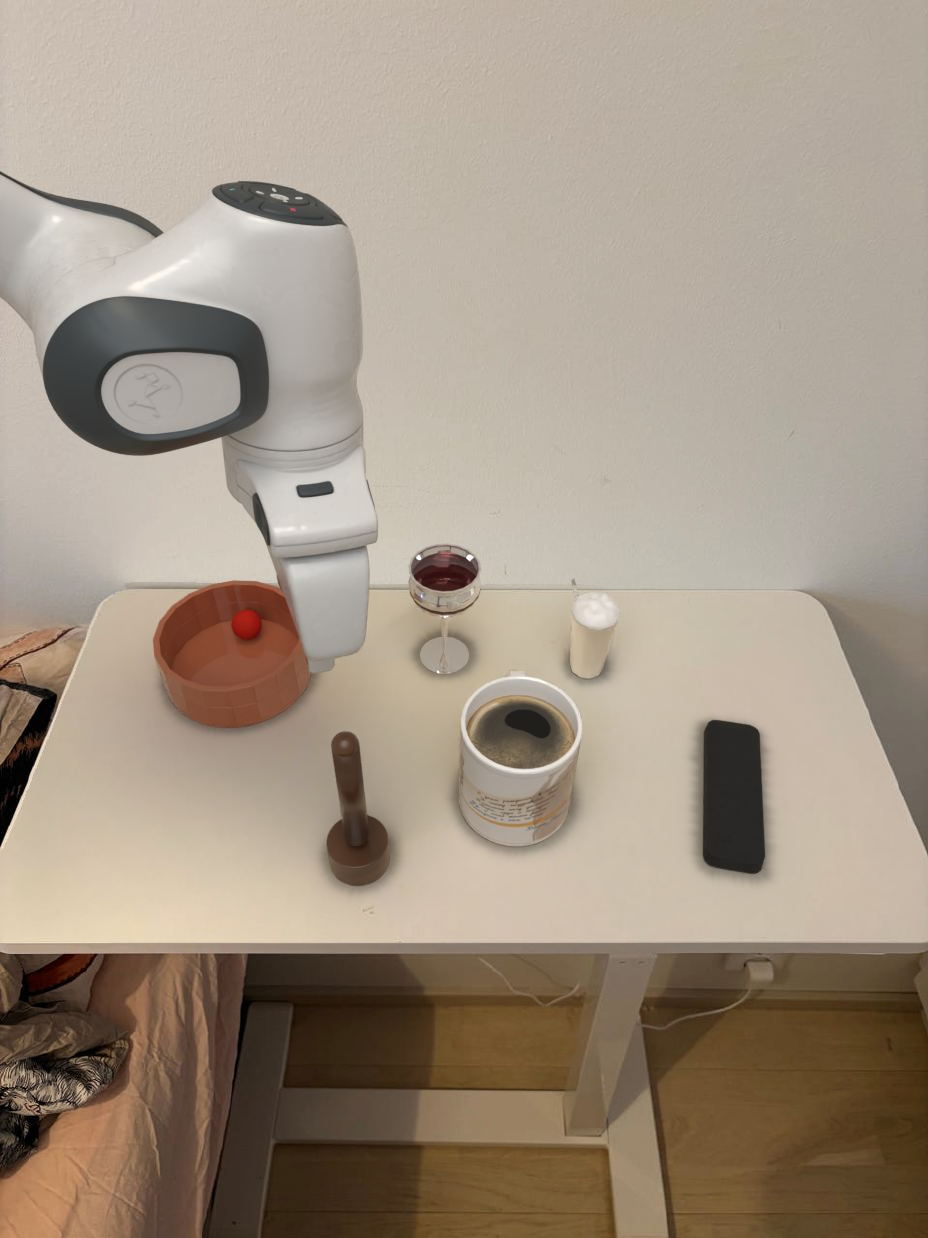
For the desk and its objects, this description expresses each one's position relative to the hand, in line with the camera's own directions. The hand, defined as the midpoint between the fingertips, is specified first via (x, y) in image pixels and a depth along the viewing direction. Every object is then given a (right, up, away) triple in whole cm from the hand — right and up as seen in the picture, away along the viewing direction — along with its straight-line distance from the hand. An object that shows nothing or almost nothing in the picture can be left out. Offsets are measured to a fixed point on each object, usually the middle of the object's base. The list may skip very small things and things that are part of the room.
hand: (304, 624), depth 68 cm
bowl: (-10, -5, +24) cm, 26 cm away
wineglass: (+10, -3, +26) cm, 28 cm away
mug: (+16, -15, +15) cm, 27 cm away
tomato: (-10, 0, +25) cm, 27 cm away
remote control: (+35, -16, +15) cm, 41 cm away
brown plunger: (+3, -20, +10) cm, 22 cm away
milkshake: (+24, -4, +25) cm, 35 cm away
